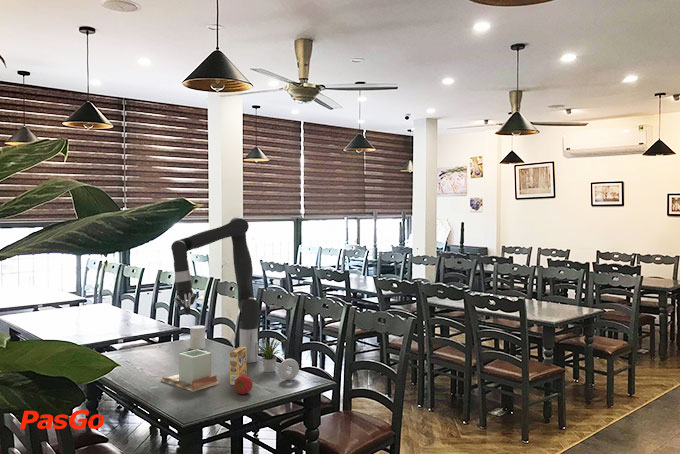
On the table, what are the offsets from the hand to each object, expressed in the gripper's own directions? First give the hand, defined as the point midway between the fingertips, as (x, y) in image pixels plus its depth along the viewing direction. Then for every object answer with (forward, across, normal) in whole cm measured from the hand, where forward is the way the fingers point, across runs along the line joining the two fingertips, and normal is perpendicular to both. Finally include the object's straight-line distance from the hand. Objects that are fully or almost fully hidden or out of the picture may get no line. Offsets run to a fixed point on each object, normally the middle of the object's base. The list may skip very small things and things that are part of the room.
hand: (187, 314), depth 271 cm
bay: (+27, -16, -18) cm, 37 cm away
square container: (+26, -16, -23) cm, 38 cm away
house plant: (+32, +21, -32) cm, 50 cm away
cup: (+26, +24, +31) cm, 47 cm away
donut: (+33, +15, -50) cm, 62 cm away
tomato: (+31, -11, -49) cm, 59 cm away
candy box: (+30, -2, -35) cm, 46 cm away
